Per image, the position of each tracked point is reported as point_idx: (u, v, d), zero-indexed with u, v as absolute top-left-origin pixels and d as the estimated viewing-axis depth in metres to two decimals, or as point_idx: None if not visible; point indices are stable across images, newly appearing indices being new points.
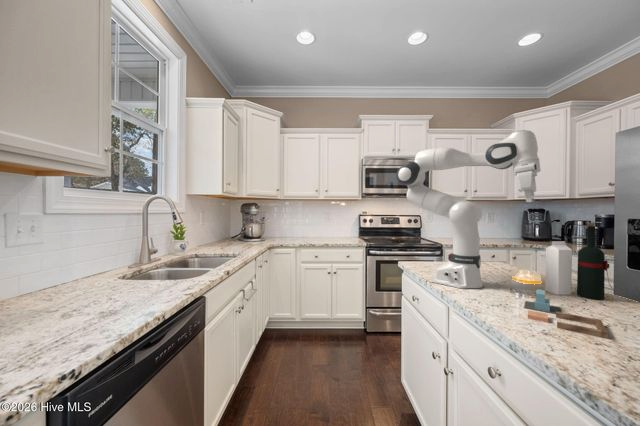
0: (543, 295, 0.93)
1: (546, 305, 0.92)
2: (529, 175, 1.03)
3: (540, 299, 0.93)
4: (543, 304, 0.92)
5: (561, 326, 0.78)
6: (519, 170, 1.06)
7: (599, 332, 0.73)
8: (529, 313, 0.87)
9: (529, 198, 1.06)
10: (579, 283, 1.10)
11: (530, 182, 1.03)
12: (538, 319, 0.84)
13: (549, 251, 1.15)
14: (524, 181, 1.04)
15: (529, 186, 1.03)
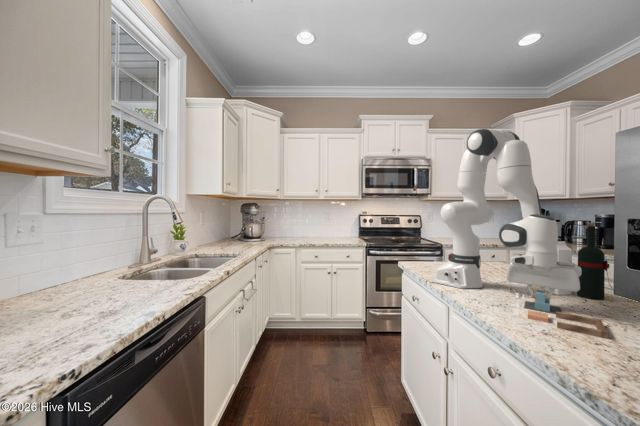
0: (543, 295, 0.93)
1: (546, 305, 0.92)
2: None
3: (540, 299, 0.93)
4: (543, 304, 0.92)
5: (561, 326, 0.78)
6: None
7: (599, 332, 0.73)
8: (529, 313, 0.87)
9: (531, 293, 0.97)
10: None
11: None
12: (538, 319, 0.84)
13: None
14: None
15: None
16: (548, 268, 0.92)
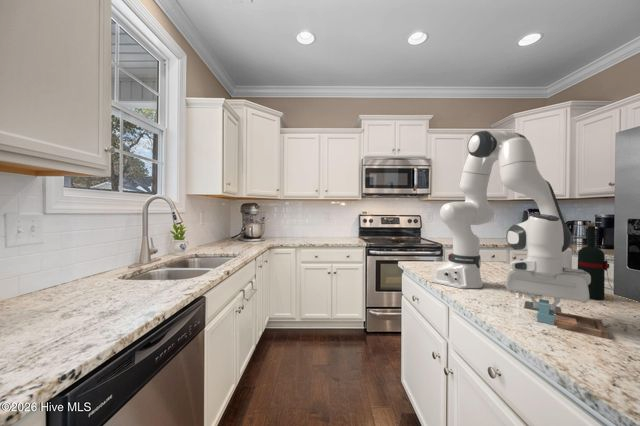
0: (547, 306, 0.82)
1: (550, 317, 0.81)
2: (507, 273, 0.90)
3: (543, 310, 0.83)
4: (547, 316, 0.82)
5: (561, 326, 0.78)
6: None
7: (599, 332, 0.73)
8: (556, 318, 0.83)
9: (533, 303, 0.86)
10: None
11: None
12: None
13: None
14: None
15: (505, 285, 0.91)
16: (553, 275, 0.82)
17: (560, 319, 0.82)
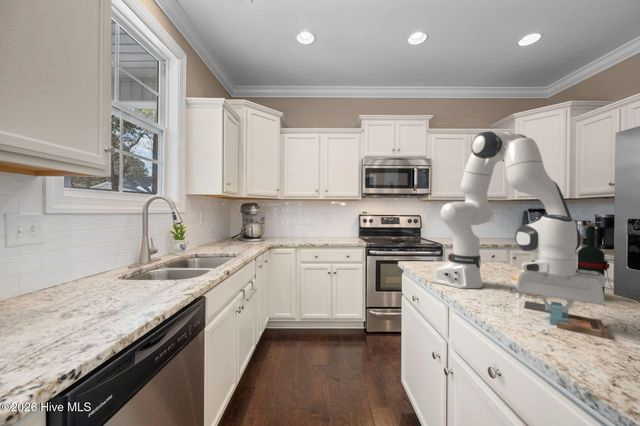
0: (560, 309, 0.80)
1: (564, 321, 0.79)
2: (518, 275, 0.88)
3: (556, 313, 0.81)
4: (560, 319, 0.80)
5: (561, 326, 0.78)
6: None
7: (599, 332, 0.73)
8: (569, 321, 0.81)
9: (545, 305, 0.84)
10: None
11: None
12: None
13: None
14: None
15: (516, 287, 0.89)
16: (566, 277, 0.80)
17: (573, 322, 0.80)
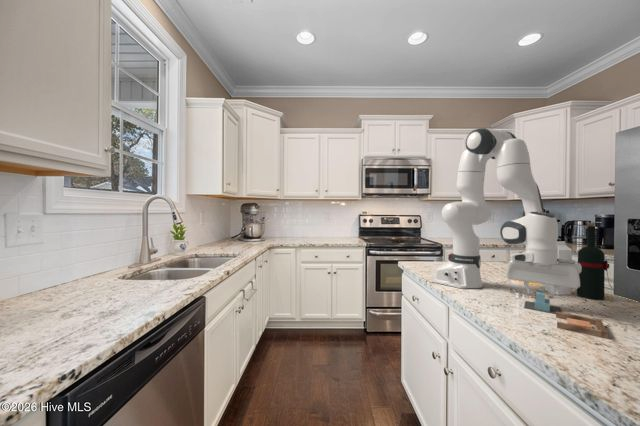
0: (543, 295, 0.93)
1: (546, 305, 0.92)
2: None
3: (540, 299, 0.93)
4: (543, 304, 0.92)
5: (561, 326, 0.78)
6: None
7: (599, 332, 0.73)
8: (569, 321, 0.81)
9: (527, 290, 0.98)
10: None
11: (506, 272, 1.01)
12: None
13: None
14: None
15: None
16: (548, 265, 0.92)
17: (574, 322, 0.80)
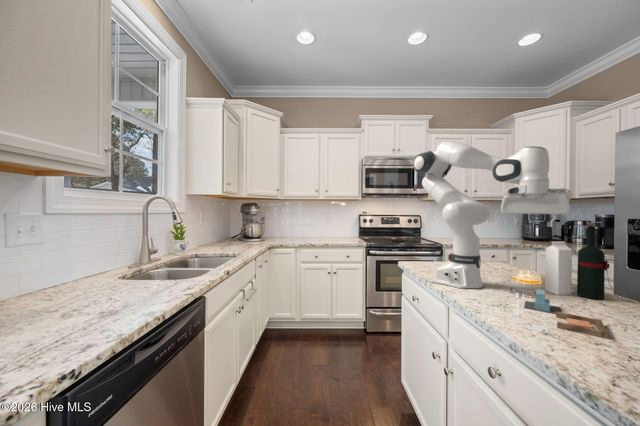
0: (543, 295, 0.93)
1: (546, 305, 0.92)
2: (502, 200, 1.06)
3: (540, 299, 0.93)
4: (543, 304, 0.92)
5: (561, 326, 0.78)
6: None
7: (599, 332, 0.73)
8: (569, 321, 0.81)
9: (515, 222, 1.04)
10: (579, 283, 1.10)
11: (501, 207, 1.06)
12: None
13: (549, 251, 1.15)
14: None
15: (501, 210, 1.06)
16: (540, 195, 0.97)
17: (574, 322, 0.80)
